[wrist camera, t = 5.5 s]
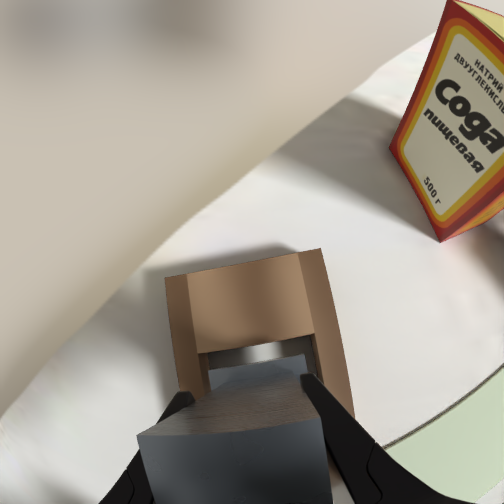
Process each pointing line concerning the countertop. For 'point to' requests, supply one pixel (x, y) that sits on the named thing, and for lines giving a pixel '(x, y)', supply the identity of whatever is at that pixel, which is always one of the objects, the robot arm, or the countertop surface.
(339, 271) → the countertop surface
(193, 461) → the lever cap
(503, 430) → the sage mat
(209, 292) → the brown rectangular frame
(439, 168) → the baking soda box
